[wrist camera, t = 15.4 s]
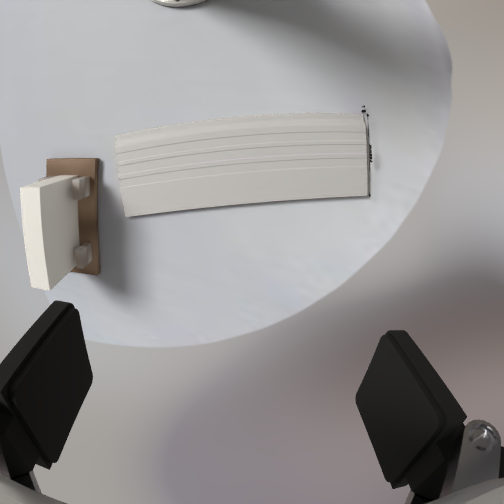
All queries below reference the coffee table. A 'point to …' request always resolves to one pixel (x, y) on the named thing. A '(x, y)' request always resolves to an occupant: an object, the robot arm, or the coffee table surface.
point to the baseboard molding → (242, 161)
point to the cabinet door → (50, 229)
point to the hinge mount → (82, 207)
